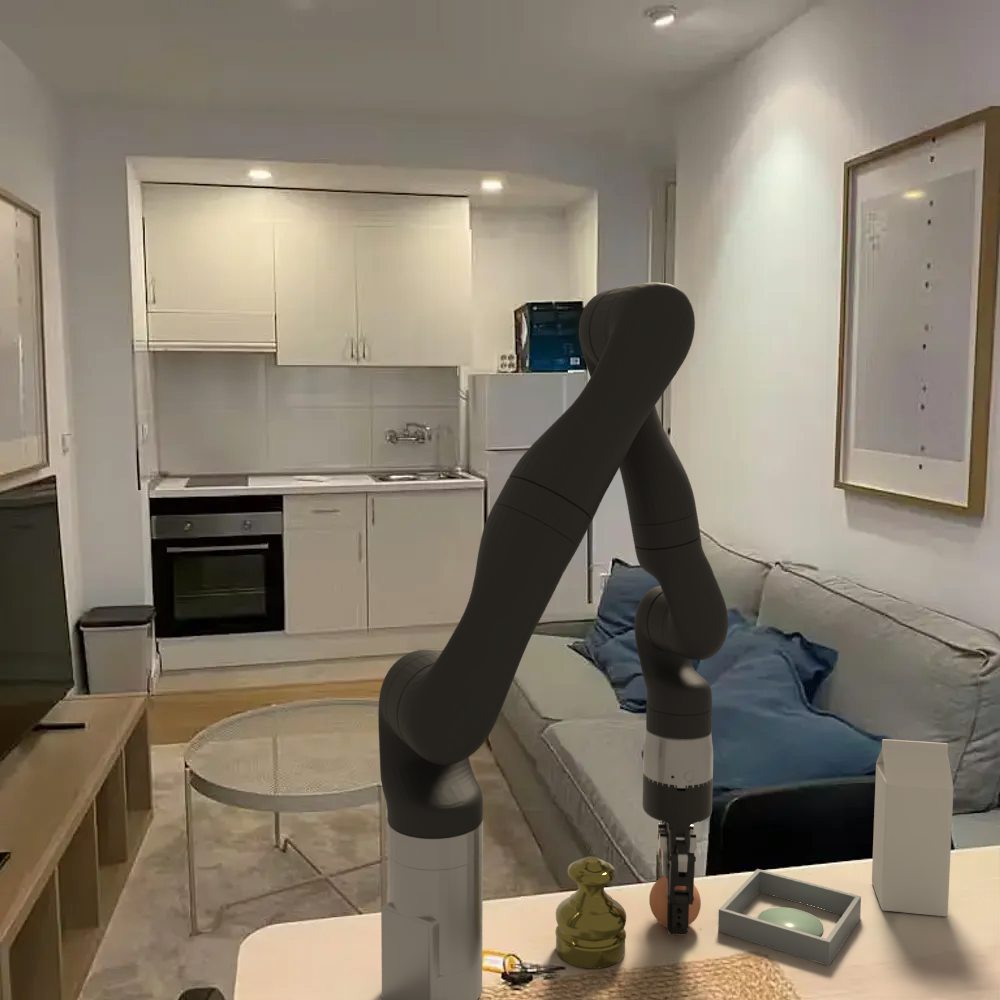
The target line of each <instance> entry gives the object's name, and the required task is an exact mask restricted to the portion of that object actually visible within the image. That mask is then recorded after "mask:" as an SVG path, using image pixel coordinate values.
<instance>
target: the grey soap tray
mask: <svg viewBox="0 0 1000 1000" xmlns="http://www.w3.org/2000/svg"><path fill="white" fill-rule="evenodd" d="M759 893H763V894H765V893H766V895H770V896H773V895H774V897H776V896H778V897H777V898H780V897H781V898H780V899H783V898H784V899H783V900H787V899H789V900H788V901H791V900H792V901H791V902H794V901H796V902H795V903H798V902H801V903H803V904H802V905H805V904H806V906H808V905H812V906H815V907H814V908H816V907H819V908H822V909H821V910H823V909H825V910H824V911H826V910H827V912H830V911H831V913H833V914H837V913H838V915H841V914H842V916H841V917H840V918H839V920H837V923H836V924H835V925H834V927H833V928H832V929H831V931H830V933H829V934H828V935H827V937H826V938H824V937H821V936H822V934H823V932H824V925H823V922H822V921H821V919H819V918H818V917H816V916H815V915H813V914H811V913H810V912H807V911H804V910H801V909H798V908H793V907H785V906H783V907H781V906H780V907H771V908H767V909H765V910H762V911H761V912H760V913H759V914H758V917H757V918H756V917H755V916H754V917H753V916H750V915H747V914H743V913H742V912H743V911H744V910H745V909H746V907H748V906H749V904H750V903H751V902H753V900H754V899H755V898H756V896H757V895H759ZM801 903H800V904H801ZM861 903H862V896H860V895H857V894H854V893H850V892H845V891H842V890H838V889H834V888H831V887H828V886H823V885H821V884H820V885H819V884H816V883H812V882H808V881H804V880H801V879H797V878H793V877H789V876H785V875H782V874H778V873H774V872H771V871H767V870H764V869H759V868H757V869H755V871H754V872H753V873H752V874H751V875H750V876H749V877H748V878H747V879H746V880H745V881H744V882H743V884H742V885H740V887H738V888H737V890H736V891H734V893H733V894H732V895H731V896H730V897H729V898H728V899H727V900H726V901H725V902H724V903H723V905H721V907H719V908H718V921H717V922H718V923H717V925H718V926H717V928H718V929H717V932H719V933H722V934H725V935H729V936H732V937H734V938H738V939H741V940H744V941H748V942H751V943H754V944H758V945H760V946H761V945H762V946H764V947H767V948H771V949H774V950H777V951H780V952H783V953H786V954H790V955H792V956H797V957H799V958H804V959H806V960H810V961H812V962H816V963H819V964H823V965H825V966H826V965H827V966H830V965H831V963H832V962H833V960H834V959H835V957H836V955H837V954H838V953H839V951H840V950H841V948H842V947H843V945H844V944H845V942H846V940H847V939H848V937H849V935H850V934H851V933H852V932H853V930H854V929H855V927H856V926H857V924H856V923H858V922H859V920H860V919H861V912H862V911H861V909H862V907H861V905H862V904H861ZM807 904H808V905H807ZM812 906H811V907H812ZM819 908H818V909H819Z"/></svg>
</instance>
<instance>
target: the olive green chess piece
mask: <svg viewBox="0 0 1000 1000" xmlns="http://www.w3.org/2000/svg"><path fill="white" fill-rule="evenodd" d="M567 875H568V877H569V878H570V879H571V881H574V882H575V883H576V884H577V886H578V888H577V890H576V891H575V892H574V893H571V895H570V896H569V897H566V898H565V899H562V901H561V902H560V903H559V904H558V906H557V907H556V910H555V921H556V923H557V926H556V927H555V950H556V953H557V955H558V956H559V957H560V958H561V959H562V960H563V961H565V962H566V963H568V964H569V965H573V966H576V967H579V968H584V969H602V968H608V967H611V966H613V965H616V964H617V963H619V962H620V961H621V960H622V959H623V958H624V956H625V954H626V938H627V931H626V930H625V927H626V922H627V912H626V910H625V908H624V907H623V906H622V904H621V903H619V902H618V901H617V900H615V899H613V897H612V896H610V894H608V893H607V892H606V891H605V887H606V885H607V884H608V883H611V881H612V880H614V879H615V878H616V877H615V876H616V869H615V867H614V866H613V865H612V864H611V863H610V862H607V861H605V860H603V859H601V858H598V857H597V856H586V857H584V858H580V859H577V860H575V861H572V863H570V864H569V865H568V867H567Z"/></svg>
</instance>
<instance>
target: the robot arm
mask: <svg viewBox="0 0 1000 1000" xmlns="http://www.w3.org/2000/svg"><path fill="white" fill-rule="evenodd" d="M695 320H696V319H695V311H694V309H693V305H692V303H691V301H690V299H689V297H688V295H687V294H686V293H685V292H684V291H683V290H681V289H680V288H678V287H676V285H672V284H670V283H667V282H666V283H664V282H658V281H657V282H654V281H652V282H641V283H637V284H635V283H634V284H630V285H625V286H620V287H615V288H610V289H607V290H604V291H603V290H602V291H601V292H599V293H598V294H596V295H594V296H592V298H591V299H590V300H589V301H588V302H587V303H586V305H585V307H584V308H583V310H582V312H581V314H580V318H579V324H578V338H579V343H580V344H579V345H580V347H581V352H582V356H583V359H584V362H585V365H586V368H587V372H588V374H589V377H590V378H589V380H588V382H587V383H586V385H585V387H584V388H583V389H582V391H581V392H580V394H579V395H578V396H577V398H576V399H575V400H574V402H573V403H572V404H571V405H570V406H569V407H568V408H567V409H566V410H565V411H564V412H563V414H562V415H561V416H559V417H558V418H557V419H556V420H555V421H554V422H553V423H552V424H551V425H550V426H549V427H548V429H546V430H545V432H543V433H542V434H541V435H540V437H538V438H537V439H536V440H535V442H534V443H532V445H531V446H529V448H528V449H527V450H526V451H525V452H524V454H523V455H522V456H521V457H520V458H519V460H518V462H517V463H516V464H515V466H514V468H513V469H512V471H511V473H510V474H509V476H508V477H507V479H506V481H505V483H504V485H503V486H502V489H501V490H500V492H499V495H498V497H497V498H496V500H495V502H494V503H493V505H492V507H491V510H490V512H489V514H488V516H487V519H486V522H485V524H484V527H483V531H482V534H481V538H480V542H479V547H478V552H477V559H476V565H475V572H474V579H473V583H472V588H471V591H470V595H469V599H468V602H467V605H466V607H465V609H464V612H463V614H462V616H461V618H460V620H459V622H458V623H457V624H456V625H457V626H456V627H455V629H454V631H453V633H452V634H451V636H450V638H449V639H448V641H447V643H446V645H445V647H444V649H442V651H439V650H433V649H418V650H414V651H411V652H408V653H406V654H405V655H403V656H401V657H400V658H399V659H398V660H396V661H395V663H393V664H392V665H391V667H390V668H389V669H388V671H387V672H386V674H385V676H384V679H383V681H382V684H381V686H380V691H379V698H378V710H377V711H378V712H377V713H378V720H377V721H378V746H379V748H378V750H379V770H380V771H379V772H380V782H381V788H382V791H383V794H384V795H383V796H384V798H385V803H386V809H387V810H386V811H387V813H386V815H387V817H386V819H387V903H384V905H383V906H382V907H381V909H380V912H381V913H380V914H381V916H380V917H381V918H380V921H381V924H380V925H381V926H380V927H381V935H380V936H381V940H380V941H381V1000H479V998H480V997H481V994H482V992H483V915H484V914H483V910H484V909H483V908H484V907H483V901H484V900H483V896H484V895H483V891H484V890H483V889H484V888H483V887H484V886H483V885H484V884H483V883H484V882H483V878H484V877H483V872H484V871H483V868H484V864H483V861H484V860H483V857H484V855H483V854H484V852H483V851H484V828H483V827H484V800H483V792H482V789H481V787H480V785H479V783H478V780H477V778H476V776H475V774H474V770H473V768H472V764H471V761H470V757H471V756H472V755H474V754H475V753H476V752H477V751H478V750H479V749H480V748H481V747H482V746H483V745H484V743H485V742H486V740H487V739H488V738H489V736H490V734H491V732H492V731H493V729H494V727H495V725H496V724H497V720H498V718H499V716H500V714H501V711H502V708H503V706H504V704H505V702H506V699H507V697H508V693H509V691H510V688H511V686H512V684H513V682H514V679H515V676H516V674H517V671H518V668H519V666H520V663H521V661H522V658H523V656H524V653H525V652H526V648H527V646H528V644H529V642H530V639H531V638H532V636H533V633H534V632H535V630H536V629H537V628H536V627H537V626H538V625H539V624H538V623H540V621H541V618H542V616H543V615H544V612H545V611H546V609H547V607H548V605H549V603H550V602H551V599H552V596H553V595H554V594H555V593H554V592H555V591H556V589H557V587H558V585H559V583H560V581H561V578H562V577H563V575H564V573H565V571H566V569H567V568H568V566H569V564H570V562H571V560H572V559H573V557H574V556H575V554H576V552H577V550H578V548H579V547H580V545H581V543H582V541H583V539H584V537H585V535H586V533H587V532H588V530H589V528H590V526H591V524H592V522H593V520H594V518H595V516H596V514H597V511H598V509H599V507H600V505H601V503H602V500H603V499H604V496H605V494H606V492H607V491H608V488H609V487H610V485H611V484H612V482H613V480H614V479H615V476H616V474H617V473H618V471H619V472H620V475H621V479H622V483H623V488H624V493H625V499H626V504H627V509H628V517H629V522H630V527H631V533H632V538H633V544H634V550H635V551H634V552H635V555H636V559H637V561H638V564H639V566H640V567H641V568H642V570H644V571H645V572H646V573H648V574H649V575H651V576H652V577H653V578H654V579H656V581H657V582H658V584H659V585H657V586H654V587H652V588H650V589H649V590H648V591H646V593H645V594H644V595H643V596H642V597H641V600H640V601H639V603H638V605H637V608H636V612H635V616H634V637H635V644H636V648H637V655H638V660H639V663H640V664H639V665H640V669H641V673H642V677H643V680H644V684H645V688H646V715H645V716H646V720H645V727H646V728H645V734H644V735H645V737H644V741H643V752H642V753H643V758H642V760H643V761H642V762H643V763H642V764H643V765H642V809H643V811H644V812H645V814H647V816H649V817H651V818H653V819H655V820H656V821H659V822H658V823H657V825H656V826H657V827H656V834H657V835H656V836H657V840H658V844H657V850H658V857H659V859H660V860H661V861H660V869H661V875H662V877H663V876H664V877H665V878H666V879H667V893H666V898H667V901H668V903H667V927H666V928H667V929H666V930H667V933H669V934H670V935H677V936H679V935H680V936H681V935H682V936H684V935H687V934H688V933H689V925H688V923H689V904H690V905H693V901H694V896H693V888H694V885H695V876H696V867H695V866H696V863H695V862H697V858H696V857H697V856H695V852H696V850H697V845H698V844H697V833H695V830H694V829H695V827H694V824H696V823H701V822H703V821H705V820H707V819H709V817H710V816H711V815H712V812H713V789H714V788H713V786H714V784H713V783H714V778H713V775H714V748H713V738H712V737H713V736H712V729H713V727H712V724H713V723H712V720H713V719H712V718H713V695H712V688H711V685H710V684H709V682H708V681H707V680H706V679H705V678H704V677H703V676H701V675H700V674H699V673H698V672H697V671H696V670H695V668H694V666H693V662H692V661H693V660H694V661H703V660H708V659H710V658H712V657H714V656H715V655H716V654H718V652H719V651H721V649H722V648H723V645H724V643H725V641H726V639H727V635H728V630H729V616H728V615H729V614H728V608H727V604H726V602H725V598H724V596H723V594H722V593H723V592H722V591H721V588H720V585H719V583H718V580H717V579H716V576H715V574H714V571H713V568H712V566H711V563H710V562H709V559H708V558H707V555H706V553H705V552H704V549H703V545H702V544H703V543H702V537H701V536H702V535H701V529H700V526H699V525H700V524H699V519H698V513H697V506H696V499H695V495H694V492H693V489H692V488H693V487H692V485H691V482H690V479H689V476H688V474H687V472H686V470H685V468H684V465H683V464H682V461H681V460H680V458H679V456H678V454H677V452H676V450H675V448H674V447H673V444H672V443H671V441H670V439H669V437H668V434H667V433H666V430H665V429H664V427H663V424H662V421H661V418H660V416H659V414H658V410H657V407H656V405H657V403H658V402H659V400H660V399H661V397H662V396H663V394H664V393H665V391H666V390H667V388H668V387H669V385H670V384H671V382H672V380H673V379H674V378H675V376H676V374H677V373H678V371H679V370H680V368H681V367H682V365H683V363H684V362H685V361H686V358H687V356H688V354H689V352H690V349H691V347H692V343H693V341H694V337H695V329H696V327H695V325H696V321H695ZM676 886H685V890H677V889H675V887H676Z"/></svg>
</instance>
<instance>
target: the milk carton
mask: <svg viewBox="0 0 1000 1000" xmlns="http://www.w3.org/2000/svg"><path fill="white" fill-rule="evenodd" d="M880 749H881V750H880V752H879V755H878V757H877V759H876V762H875V763H876V764H875V788H874V789H875V790H874V813H873V815H874V817H873V837H872V838H873V840H872V843H873V844H872V865H871V866H872V868H871V869H872V871H871V883H872V886H873V889H874V892H875V894H876V897H877V900H878V903H879V905H880V909H881V910H882V911H886V912H887V911H888V912H896V913H897V912H898V913H904V914H905V913H908V914H917V915H918V914H919V915H925V916H926V915H928V916H939V917H948V915H949V896H950V894H949V893H950V872H951V851H952V829H953V827H952V826H953V825H952V824H953V809H954V807H953V806H954V805H953V804H954V789H955V787H954V782H953V777H952V770H951V765H950V759H949V743H947V742H933V741H930V742H929V741H917V740H916V741H915V740H903V739H902V740H901V739H886V738H885V739H884V738H883V739H882V740H881V748H880Z"/></svg>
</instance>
